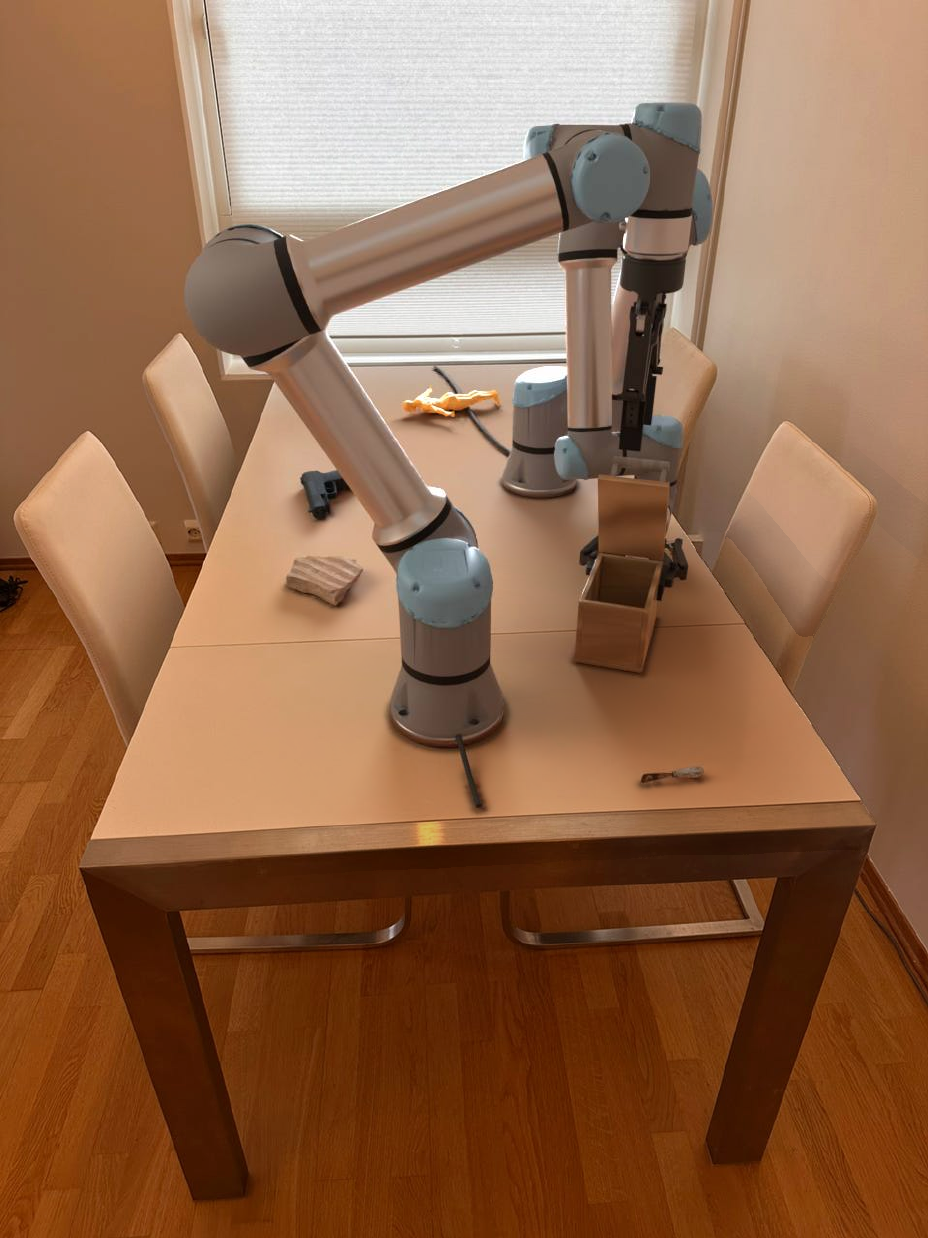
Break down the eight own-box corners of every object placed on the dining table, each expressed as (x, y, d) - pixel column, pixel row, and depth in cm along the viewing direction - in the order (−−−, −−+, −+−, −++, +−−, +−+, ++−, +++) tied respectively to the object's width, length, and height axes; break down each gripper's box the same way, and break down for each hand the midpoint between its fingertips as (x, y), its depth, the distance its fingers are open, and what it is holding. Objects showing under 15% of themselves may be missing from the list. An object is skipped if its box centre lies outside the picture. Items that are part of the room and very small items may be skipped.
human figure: (395, 413, 223) (394, 398, 221) (438, 390, 237) (438, 375, 235) (462, 429, 215) (462, 413, 213) (502, 404, 229) (503, 388, 227)
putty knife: (703, 777, 109) (705, 767, 109) (642, 788, 108) (644, 777, 107) (700, 772, 110) (702, 762, 109) (639, 782, 109) (640, 771, 108)
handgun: (371, 513, 174) (309, 521, 172) (356, 478, 189) (299, 484, 186) (370, 498, 173) (308, 506, 170) (355, 464, 187) (297, 470, 184)
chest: (641, 673, 128) (648, 611, 123) (574, 661, 131) (578, 601, 125) (655, 619, 141) (663, 561, 135) (594, 609, 143) (598, 552, 138)
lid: (668, 487, 122) (677, 446, 126) (597, 478, 124) (608, 439, 128) (662, 560, 135) (670, 521, 139) (598, 551, 138) (608, 513, 142)
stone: (372, 573, 153) (371, 560, 152) (338, 607, 144) (336, 593, 143) (307, 560, 158) (306, 548, 156) (270, 592, 148) (268, 579, 147)
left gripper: (636, 237, 115) (620, 406, 127) (606, 269, 97) (591, 463, 109) (695, 239, 113) (674, 412, 125) (675, 273, 95) (653, 470, 107)
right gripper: (709, 554, 153) (696, 620, 135) (579, 536, 159) (551, 597, 141) (715, 514, 149) (703, 577, 131) (582, 497, 155) (553, 555, 137)
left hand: (635, 435), depth 117 cm, fingers open, 9 cm apart
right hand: (624, 587), depth 136 cm, fingers closed on chest, 10 cm apart
